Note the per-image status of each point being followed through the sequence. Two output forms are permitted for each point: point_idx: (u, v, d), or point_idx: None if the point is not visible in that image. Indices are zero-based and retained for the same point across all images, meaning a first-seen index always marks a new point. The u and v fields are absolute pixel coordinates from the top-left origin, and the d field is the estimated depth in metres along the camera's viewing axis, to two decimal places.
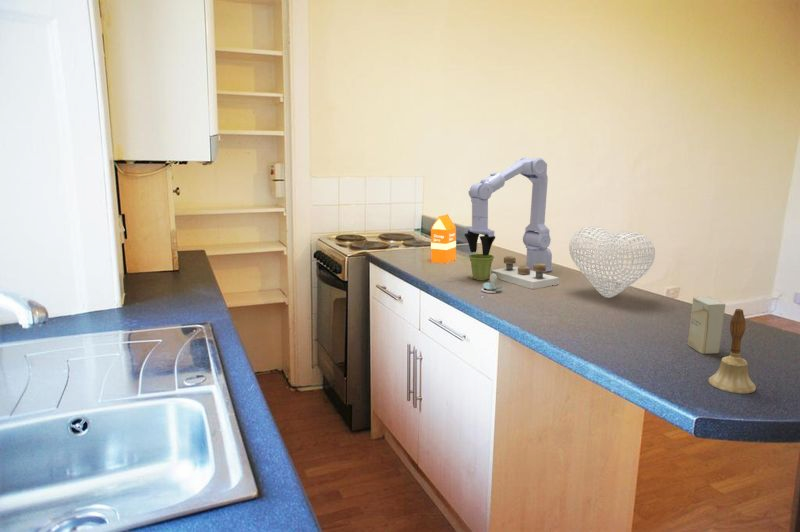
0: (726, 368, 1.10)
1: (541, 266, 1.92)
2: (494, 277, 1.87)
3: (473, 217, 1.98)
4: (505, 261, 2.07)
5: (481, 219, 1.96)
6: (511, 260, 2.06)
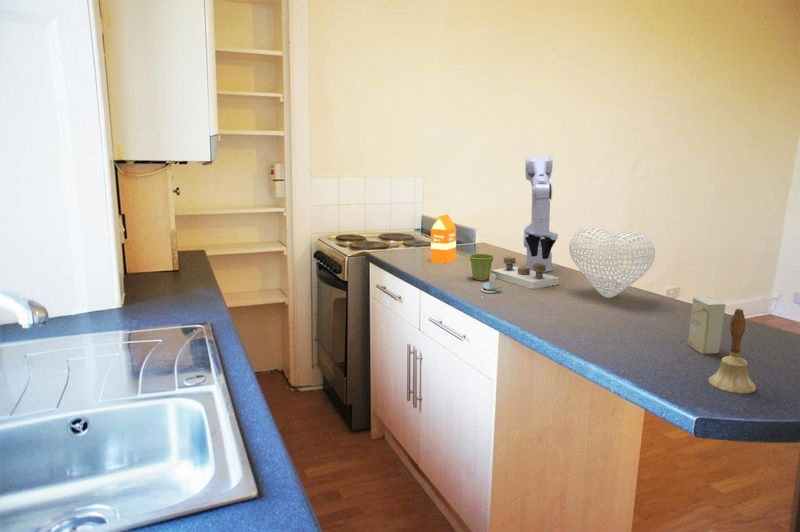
0: (726, 368, 1.10)
1: (541, 266, 1.92)
2: (494, 277, 1.87)
3: (535, 219, 1.89)
4: (505, 261, 2.07)
5: (543, 221, 1.88)
6: (511, 260, 2.06)
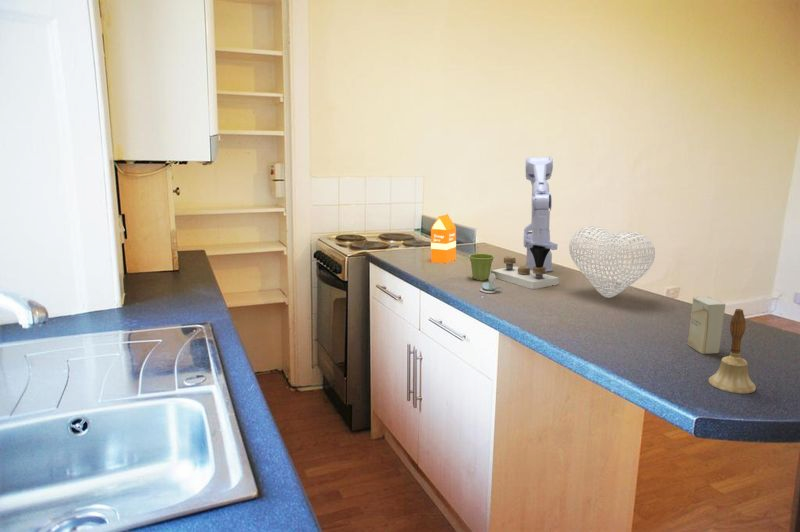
0: (726, 368, 1.10)
1: (541, 269, 1.92)
2: (493, 277, 1.87)
3: (534, 230, 1.90)
4: (505, 261, 2.07)
5: (543, 232, 1.89)
6: (511, 260, 2.06)
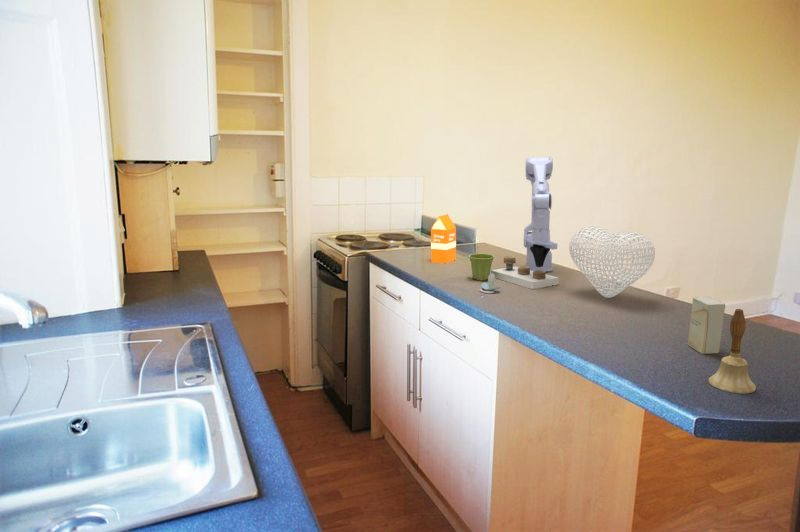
0: (726, 368, 1.10)
1: (541, 273, 1.92)
2: (492, 277, 1.87)
3: (534, 229, 1.90)
4: (505, 261, 2.07)
5: (543, 231, 1.89)
6: (511, 260, 2.06)
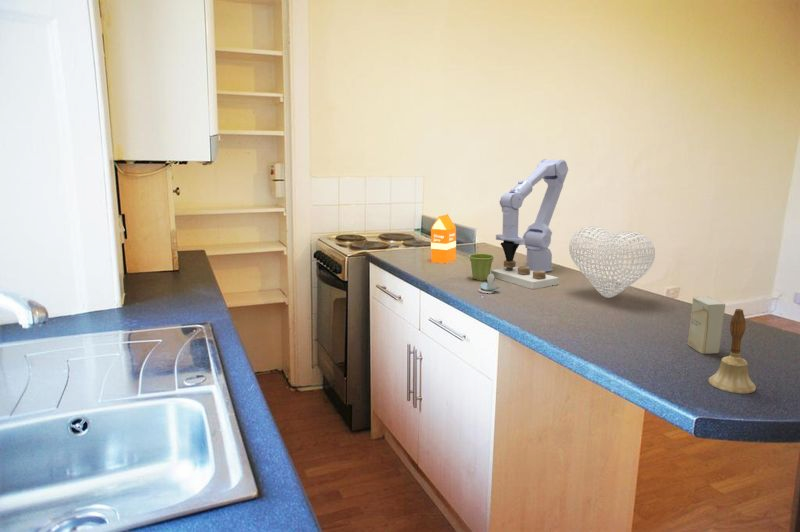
0: (726, 368, 1.10)
1: (541, 273, 1.92)
2: (491, 277, 1.86)
3: (504, 226, 2.04)
4: (505, 265, 2.07)
5: (512, 228, 2.02)
6: (511, 264, 2.06)
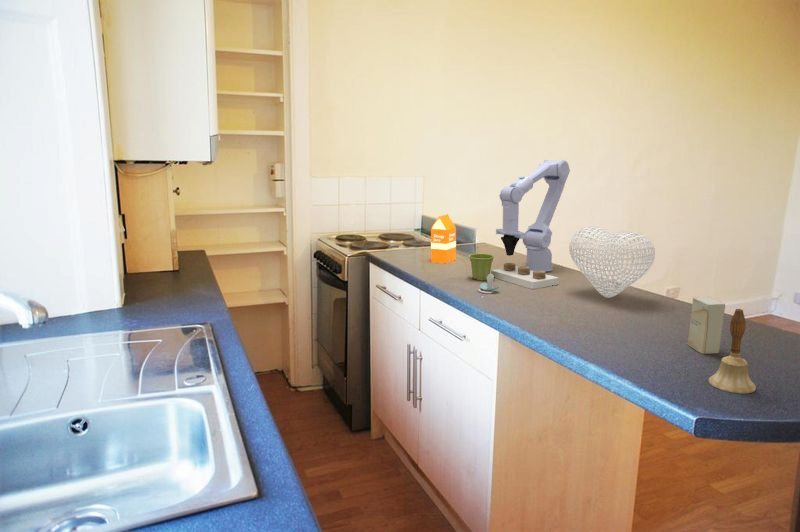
0: (726, 368, 1.10)
1: (541, 273, 1.92)
2: (491, 277, 1.86)
3: (504, 220, 2.03)
4: (505, 268, 2.07)
5: (512, 222, 2.02)
6: (511, 267, 2.06)
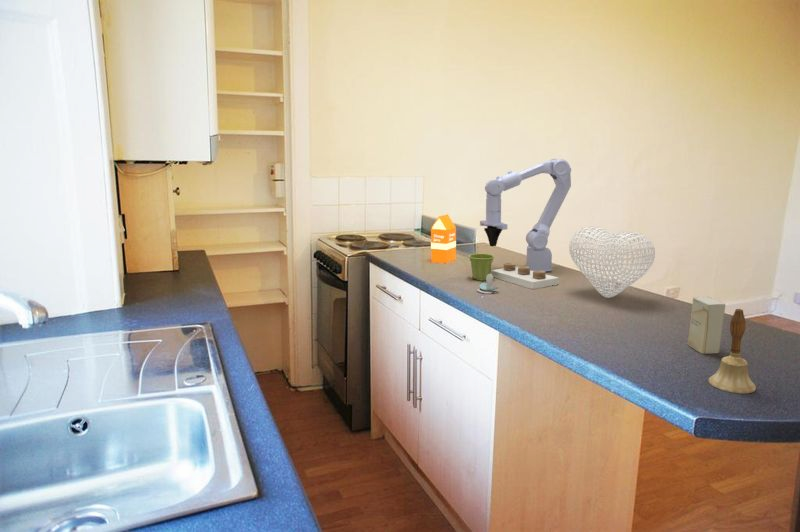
0: (726, 368, 1.10)
1: (541, 273, 1.92)
2: (490, 278, 1.86)
3: (487, 212, 2.11)
4: (505, 268, 2.07)
5: (495, 213, 2.09)
6: (511, 267, 2.06)
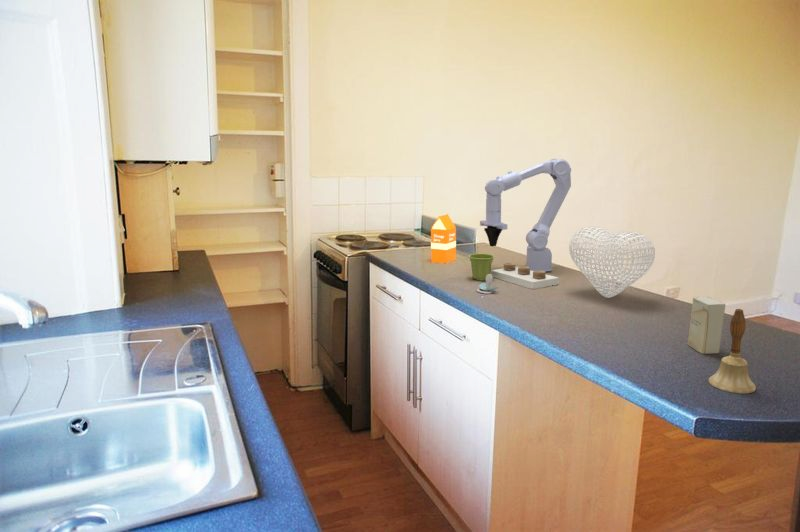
0: (726, 368, 1.10)
1: (541, 273, 1.92)
2: (490, 278, 1.86)
3: (487, 212, 2.11)
4: (505, 268, 2.07)
5: (495, 213, 2.09)
6: (511, 267, 2.06)
